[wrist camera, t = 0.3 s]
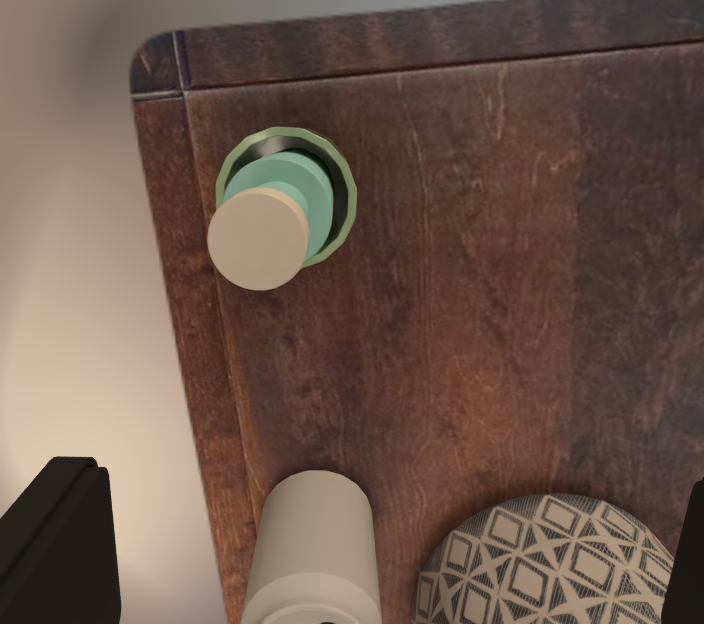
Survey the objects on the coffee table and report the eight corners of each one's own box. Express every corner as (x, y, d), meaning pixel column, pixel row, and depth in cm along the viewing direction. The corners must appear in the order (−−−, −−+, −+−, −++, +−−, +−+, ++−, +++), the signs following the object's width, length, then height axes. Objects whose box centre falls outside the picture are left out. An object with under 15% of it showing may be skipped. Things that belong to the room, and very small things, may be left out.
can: (378, 547, 42) (393, 704, 31) (274, 561, 42) (251, 722, 31) (363, 455, 40) (374, 587, 28) (253, 471, 40) (220, 608, 29)
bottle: (257, 145, 33) (180, 163, 17) (335, 149, 33) (334, 171, 17) (256, 224, 34) (185, 309, 18) (332, 227, 35) (328, 315, 18)
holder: (238, 124, 33) (214, 123, 27) (355, 130, 34) (360, 131, 27) (239, 240, 35) (216, 266, 29) (349, 245, 36) (352, 272, 29)
